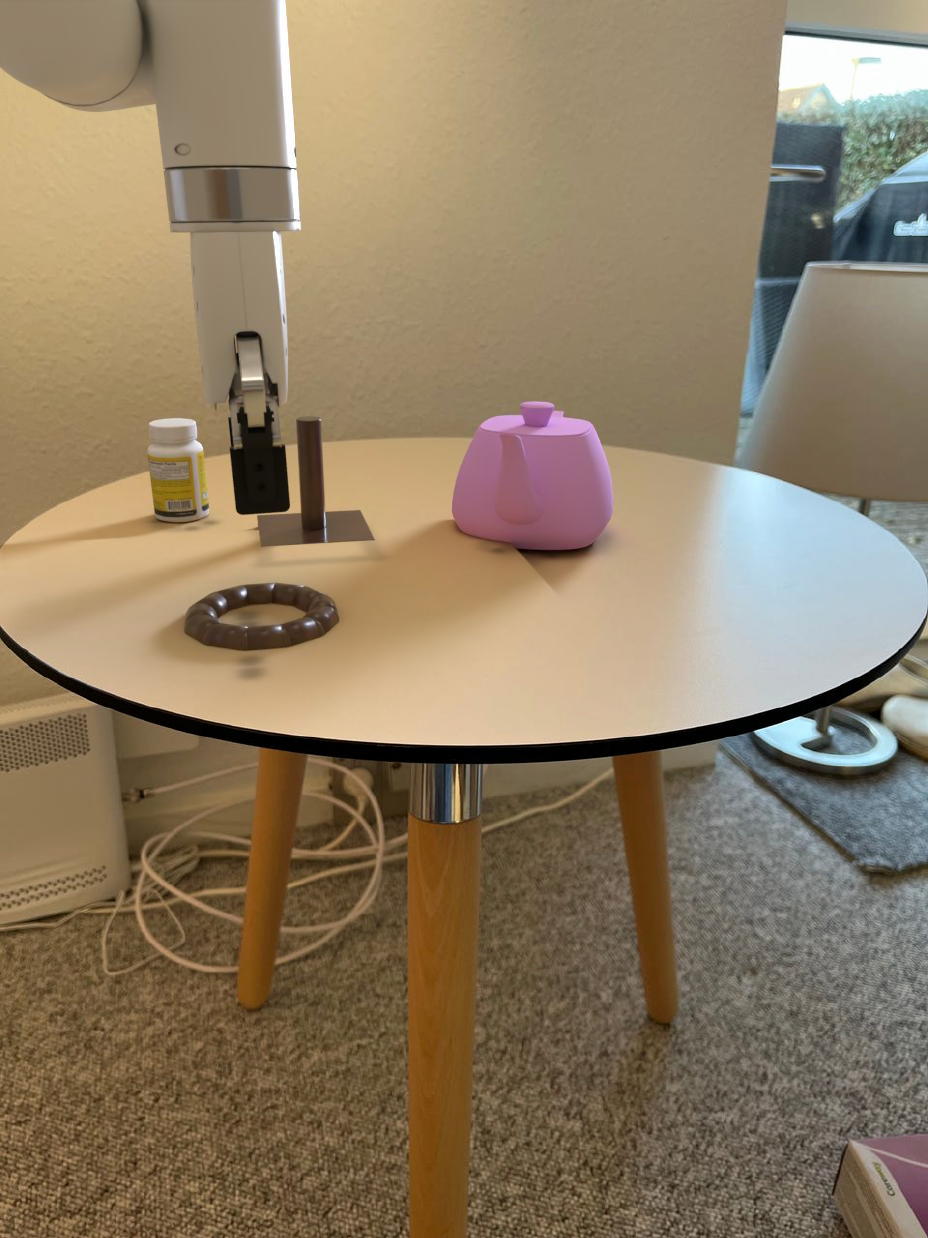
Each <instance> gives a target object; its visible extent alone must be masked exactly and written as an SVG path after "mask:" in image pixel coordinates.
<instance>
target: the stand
mask: <svg viewBox="0 0 928 1238" xmlns="http://www.w3.org/2000/svg"><path fill="white" fill-rule="evenodd" d="M295 428H296V429H295V430H296V442H297V443H296V445H297V463H298V482H299V500H300V501H299V502H300V512H294V513H271V514H256V518H257V530H258V532H259V541H260V546H261V548H264V547H265V548H266V547H279V546H282V547H283V546H293V545H294V546H295V545H297V546H299V545H315V544H332V543H349V542H350V543H351V542H365V541H367V542H368V541H375V540H376V538H375V537H374V534H373V532H372V530H371V528H370V527H369V525H368V523H367V520H366V519H365V516H364V514H363V513H362V511H361V509H353V510H351V509H349V510H334V511H326V495H325V474H324V473H325V472H324V471H325V470H324V451H323V450H324V449H323V430H322V418H321V417H319V416H314V415H313V416H310V415H309V416H308V415H307V416H299V417H296V418H295Z"/></svg>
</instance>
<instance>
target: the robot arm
mask: <svg viewBox="0 0 928 1238" xmlns="http://www.w3.org/2000/svg"><path fill="white" fill-rule="evenodd" d="M289 48H290V47H289V32H288V18H287V3H286V0H0V69H1V70H2V71H3V72H5V73H6V74H7V75H9V76H11V78H13V79H14V80H16V81H18V82H20V83H21V84H23V85H25V86H27V87H28V88H31V89H33V90H35V91H37V92H38V93H41V94H42V95H43V96H45V97H47V98H48V99H50V100H52V101H55V102H57V103H58V104H60V105H62V106H64V107H67V108H69V109H73V110H76V111H81V112H89V113H103V112H113V111H120V110H125V109H131V108H138V107H145V106H153V105H155V107H156V108H155V109H156V117H157V127H158V134H159V136H158V137H159V145H160V151H161V152H160V154H161V162H162V169H163V177H164V187H165V195H166V202H167V204H166V206H167V212H168V221H169V231H170V233H190V235H189V237H190V238H189V239H190V241H189V243H190V270H191V271H190V272H191V285H192V295H193V305H194V316H195V325H196V334H197V342H198V343H197V344H198V353H199V363H200V371H201V380H202V389H203V397H204V398H203V400H204V406H205V407H206V408H207V409H209V410H210V411H211V412H216V411H217V409H218V405H217V404H226V403H227V400H228V409H229V411H230V412H229V413H230V416H228V417H227V420H228V429H229V439H230V447H229V457H230V465H231V475H232V486H233V495H234V506H235V512H236V513H237V514H238V515H240V516H247V515H265V514H279V513H287V512H288V511H289V510H290V508H291V500H290V488H289V474H288V461H287V449H286V444H285V443H282V433H281V425H280V416H279V409H280V408H281V407H283V406H284V405H285V404H286V403H287V402H288V391H289V390H288V388H289V386H288V385H289V354H288V352H289V347H288V344H289V341H288V340H289V339H288V320H287V319H288V317H287V301H286V285H285V284H286V283H285V269H284V255H283V242H282V232H300V231H302V222H301V210H300V209H301V208H300V193H299V179H298V170H297V168H298V165H297V153H296V152H297V151H296V136H295V126H294V125H295V124H294V107H293V95H292V80H291V79H292V78H291V76H292V75H291V62H290V49H289Z"/></svg>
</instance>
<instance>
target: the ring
mask: <svg viewBox="0 0 928 1238" xmlns="http://www.w3.org/2000/svg"><path fill="white" fill-rule="evenodd" d="M271 604H274V605H280V606H281V605H282V606H288V607H294V608H296V609H298V610H299V611H302V612H305V615H303V616H302V617H300V618H297V619H293V620H289V621H285V622H282V623H278V624H267V625H265V624H264V625H253V626H245V625H237V624H232V623H224V622H222V621H220V620H218V619H220V618H221V617H222V616H224V615H225V614H227V613H229V612H230V611H233V610H237V609H240V608H245V607H248V606H257V605H271ZM339 623H340V615H339V611H338V608H337V606H336V603H335V601H334V599H333V598H332V597H331V596H329V595H328V594H326V593H323V592H322V591H318V590H317V589H314V588H312V587H310V586H306V585H301V584H300V585H299V584H292V583H285V582H283V583H282V582H264V583H249V584H248V583H247V584H240V585H236V586H232V587H228V588H224V589H221V590H217V591H213V592H211V593H209V594H207V595H206V596H203V598H201V599H199V600H197V601H196V602H195V603H193V604H191V605H190V606H189V607H188V608H187V610H186V612H185V617H184V634H185V635H186V636H188V637H190V638H192V639H193V640H195V641H197V642H198V643H200V644H202V645H204V646H206V647H211V648H220V649H224V650H225V649H227V650H233V651H241V652H249V651H263V650H264V651H265V650H273V649H286V648H290V647H294V646H297V645H300V644H304V643H307V642H310V641H313V640H317V639H320V638H322V637H324V636H325V635H326V634H327V633H329V632H330V631H331V630H332V629H333V628H334V627H336V626H337V625H338V624H339Z"/></svg>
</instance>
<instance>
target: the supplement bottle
mask: <svg viewBox="0 0 928 1238" xmlns="http://www.w3.org/2000/svg"><path fill="white" fill-rule="evenodd" d="M148 437H149V440H150V441H151V442H152V443H151V444H149V446H148V447H147V452H146V453H147V462H148V470H149V479H150V486H151V488H150V489H151V495H152V496H151V497H152V504H153V510H154V516H155V518H156V519H157V520H159V521H163V522H168V523H189V522H195V521H198V520H201V519H204V518H206V517H207V516H208V515H209V513H210V502H209V494H208V483H207V473H206V463H205V453H204V448H203V445H202V444H201V443H200V442H199V441H198V440H197V439H198V429H197V422H196V421H195V420H194V419H191V418H184V417H183V418H182V417H172V418H160V419H155V420H152V421H150V422H148Z"/></svg>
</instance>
